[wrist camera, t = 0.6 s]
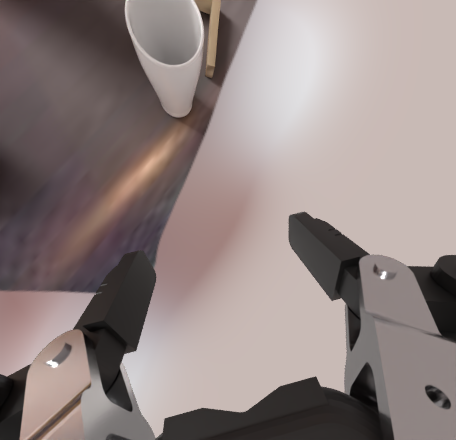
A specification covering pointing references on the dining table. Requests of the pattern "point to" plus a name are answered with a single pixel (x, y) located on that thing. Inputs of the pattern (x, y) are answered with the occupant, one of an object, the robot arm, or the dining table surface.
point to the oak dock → (211, 31)
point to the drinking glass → (168, 48)
